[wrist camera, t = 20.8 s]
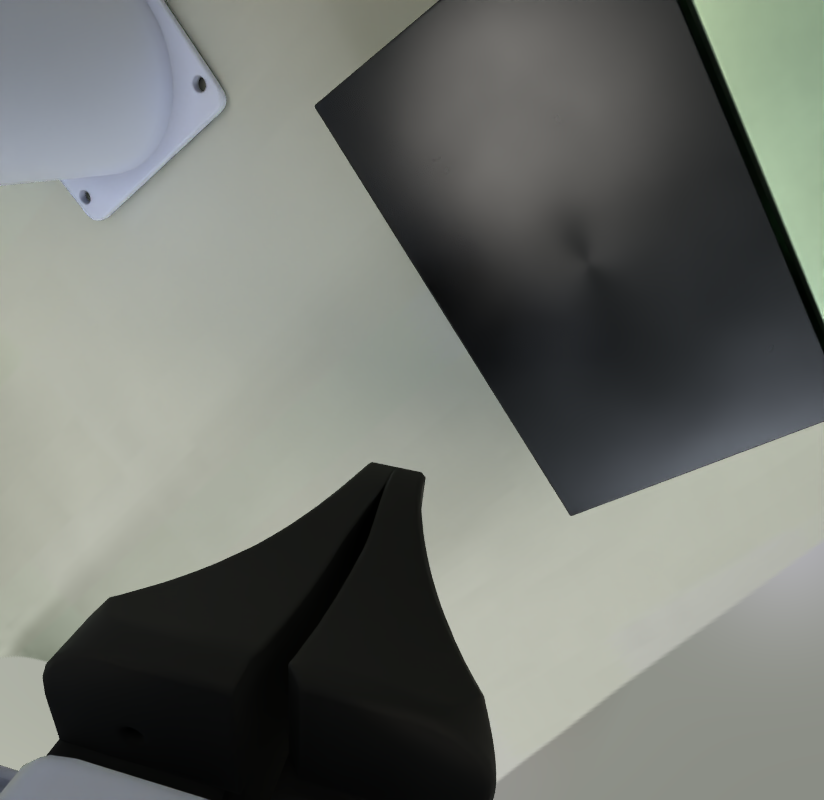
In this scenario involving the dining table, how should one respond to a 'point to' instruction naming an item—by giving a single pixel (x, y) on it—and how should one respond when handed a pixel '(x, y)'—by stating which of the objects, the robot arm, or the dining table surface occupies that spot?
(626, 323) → the lid
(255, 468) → the dining table surface
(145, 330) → the dining table surface
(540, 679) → the dining table surface
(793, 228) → the washer
